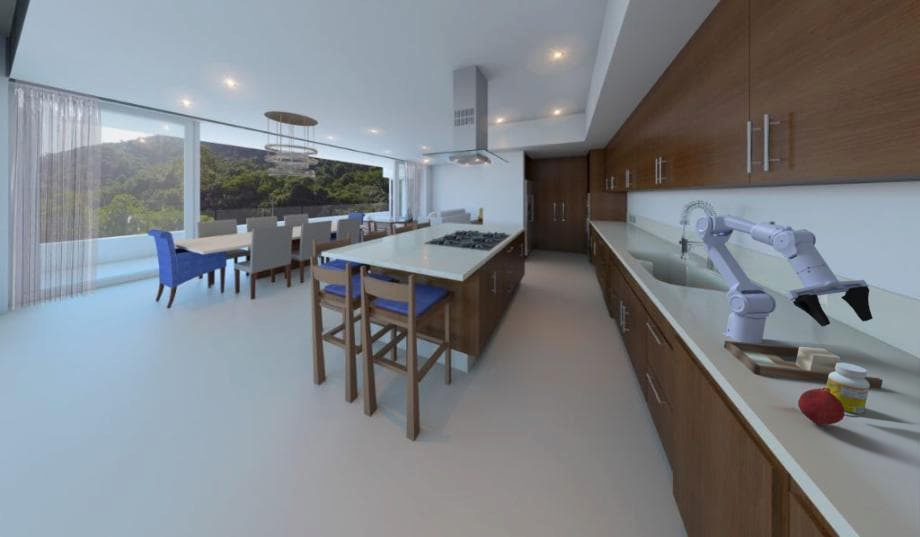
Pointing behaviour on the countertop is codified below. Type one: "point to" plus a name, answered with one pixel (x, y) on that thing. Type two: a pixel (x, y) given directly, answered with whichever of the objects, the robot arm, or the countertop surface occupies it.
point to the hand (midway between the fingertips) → (846, 322)
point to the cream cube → (816, 359)
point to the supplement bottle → (849, 387)
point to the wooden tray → (779, 362)
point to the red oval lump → (821, 406)
